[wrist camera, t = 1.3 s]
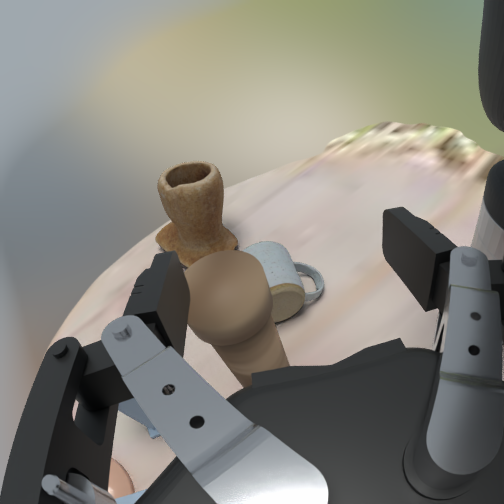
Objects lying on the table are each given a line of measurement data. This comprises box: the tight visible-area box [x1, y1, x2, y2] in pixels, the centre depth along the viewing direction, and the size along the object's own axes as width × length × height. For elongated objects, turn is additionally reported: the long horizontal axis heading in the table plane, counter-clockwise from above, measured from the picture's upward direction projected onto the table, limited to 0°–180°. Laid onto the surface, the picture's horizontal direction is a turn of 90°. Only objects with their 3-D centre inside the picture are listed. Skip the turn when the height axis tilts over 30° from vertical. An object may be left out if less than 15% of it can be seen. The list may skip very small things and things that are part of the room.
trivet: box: [108, 458, 135, 499], centre depth 25 cm, size 11×11×1 cm
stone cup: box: [156, 161, 238, 268], centre depth 49 cm, size 15×12×15 cm
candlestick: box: [184, 250, 290, 388], centre depth 23 cm, size 6×6×22 cm
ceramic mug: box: [243, 241, 324, 323], centre depth 39 cm, size 11×8×8 cm
